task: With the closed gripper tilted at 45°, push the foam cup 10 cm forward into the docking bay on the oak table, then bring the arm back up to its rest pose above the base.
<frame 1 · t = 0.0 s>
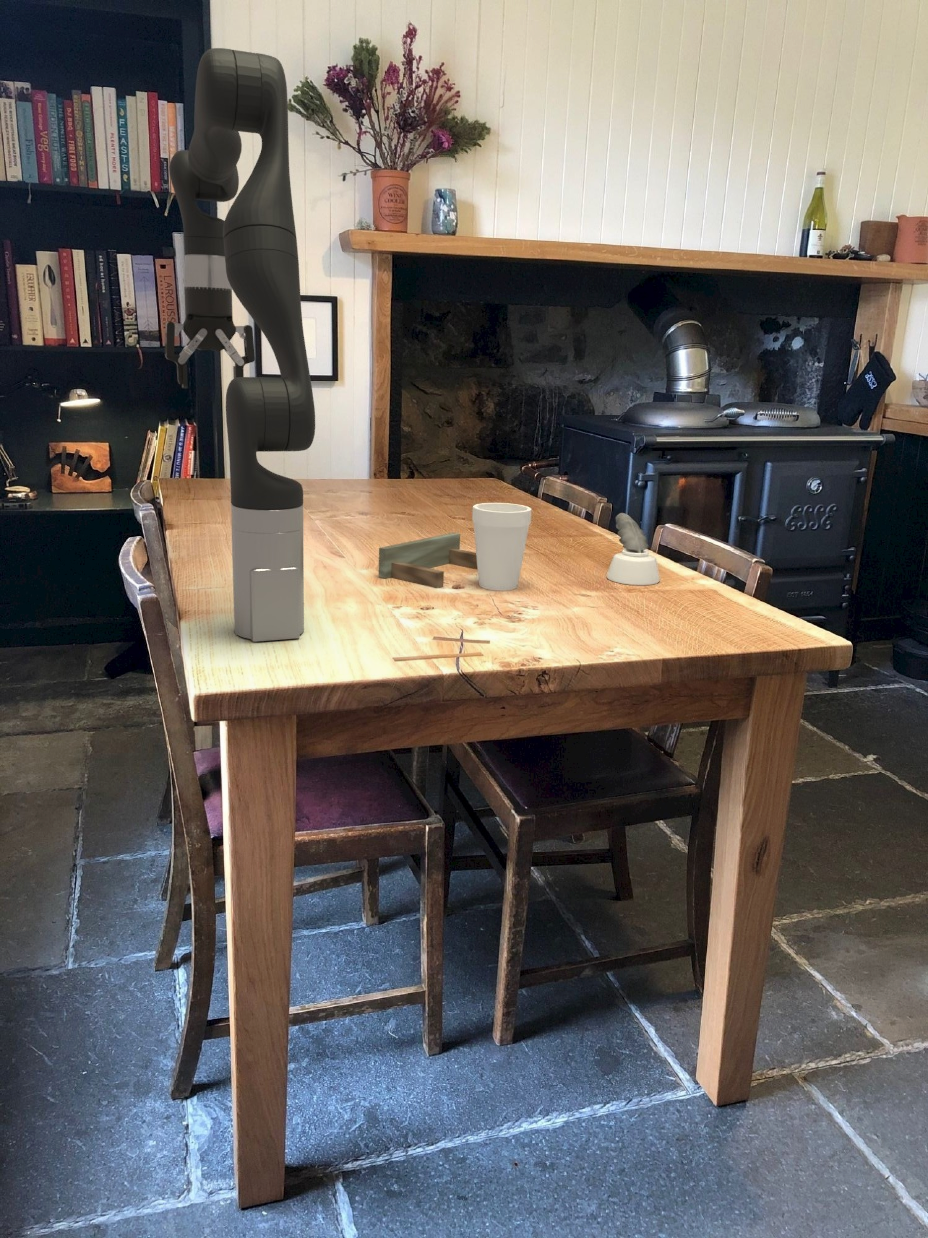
hand: (211, 388, 164), 29 cm above the table, tool pointing down, fingers open, 8 cm apart
inkwell: (624, 574, 174), on the table
foam cup: (498, 586, 162), on the table
dock: (450, 575, 167), on the table
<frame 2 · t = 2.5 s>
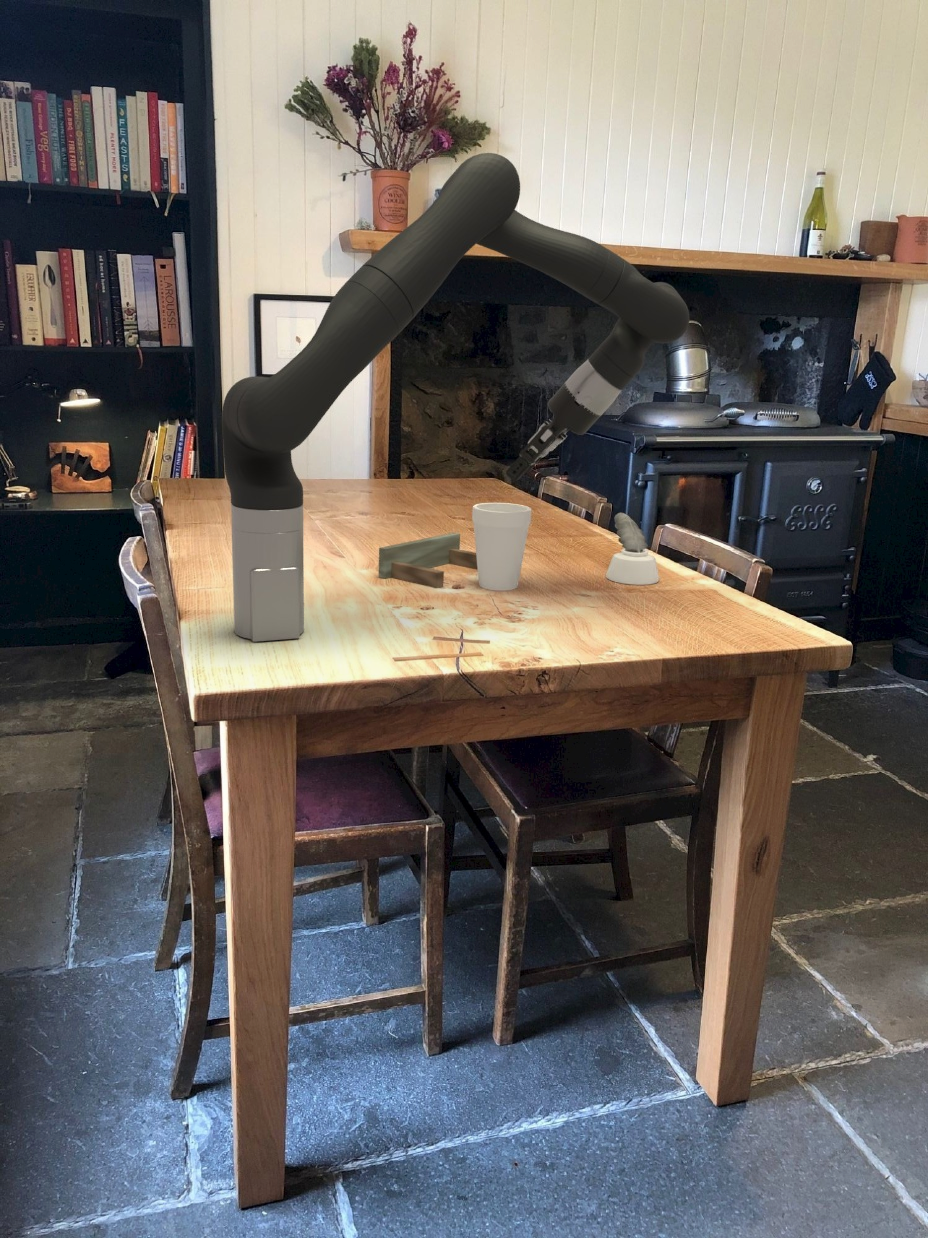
hand: (517, 472, 158), 19 cm above the table, tool tilted 40°, fingers open, 8 cm apart
nothing on the table moved.
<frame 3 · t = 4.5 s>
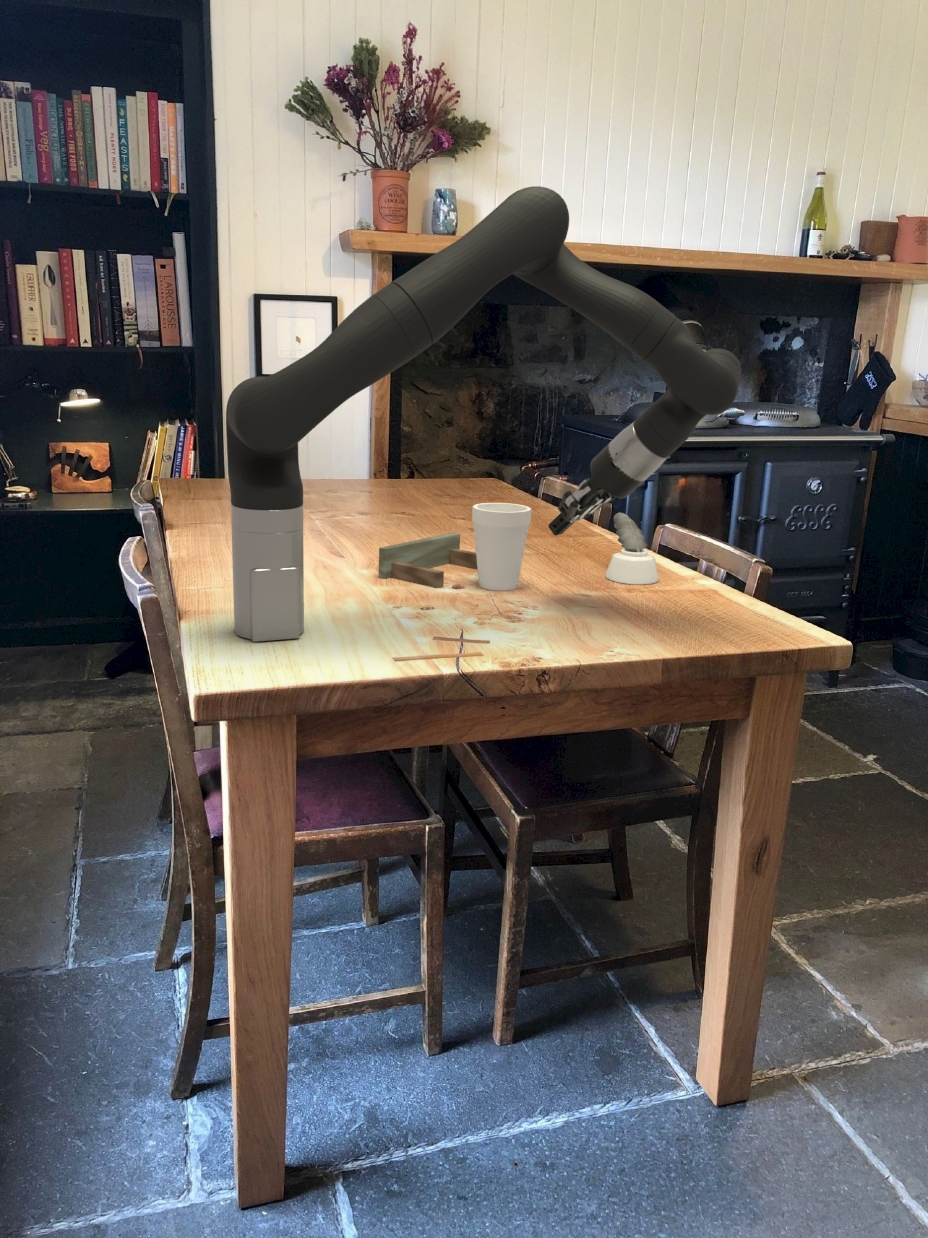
hand: (553, 530, 153), 11 cm above the table, tool tilted 45°, fingers closed
nothing on the table moved.
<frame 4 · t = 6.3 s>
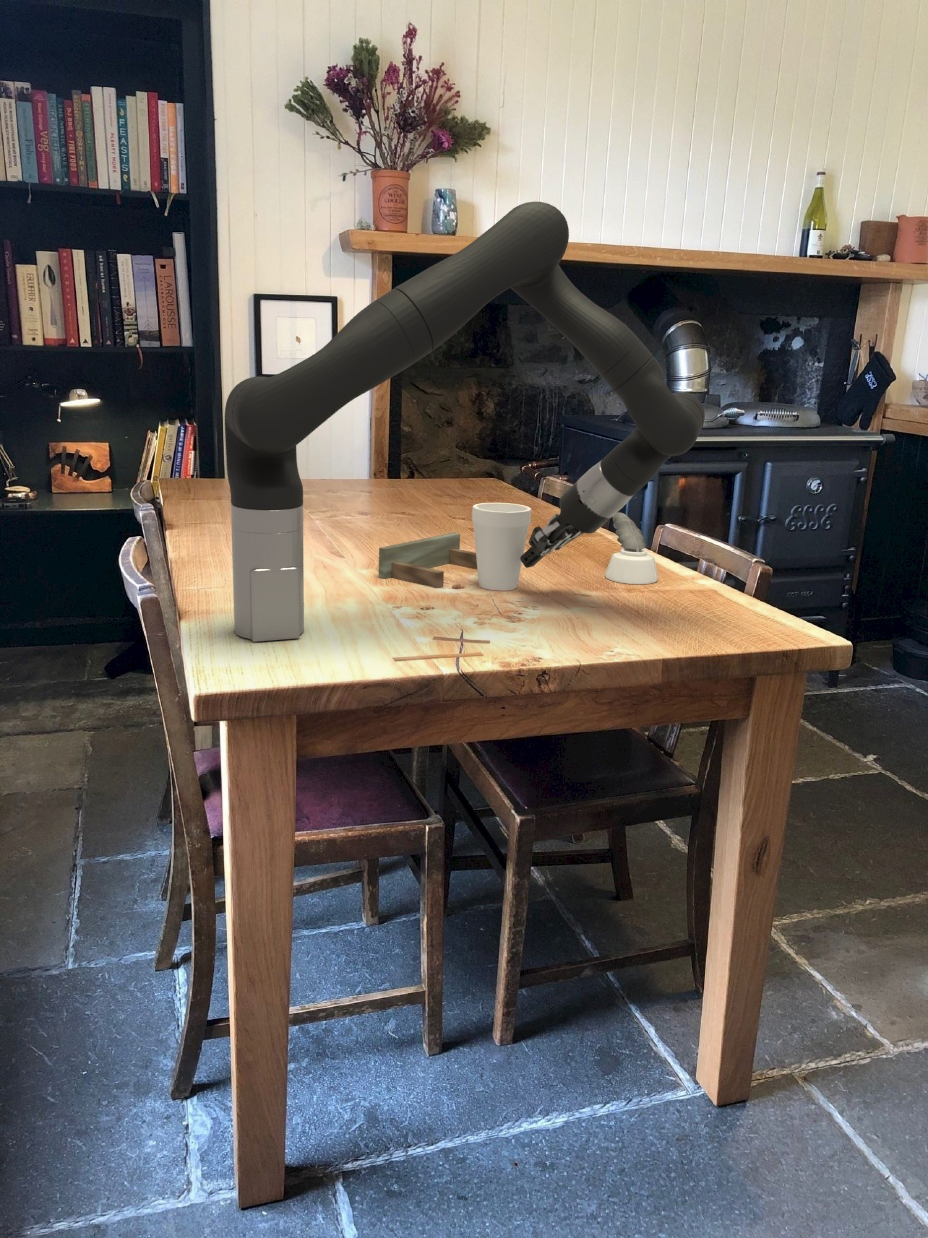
hand: (525, 562, 157), 5 cm above the table, tool tilted 45°, fingers closed
foam cup: (498, 586, 162), on the table, touching gripper
everything else where it was.
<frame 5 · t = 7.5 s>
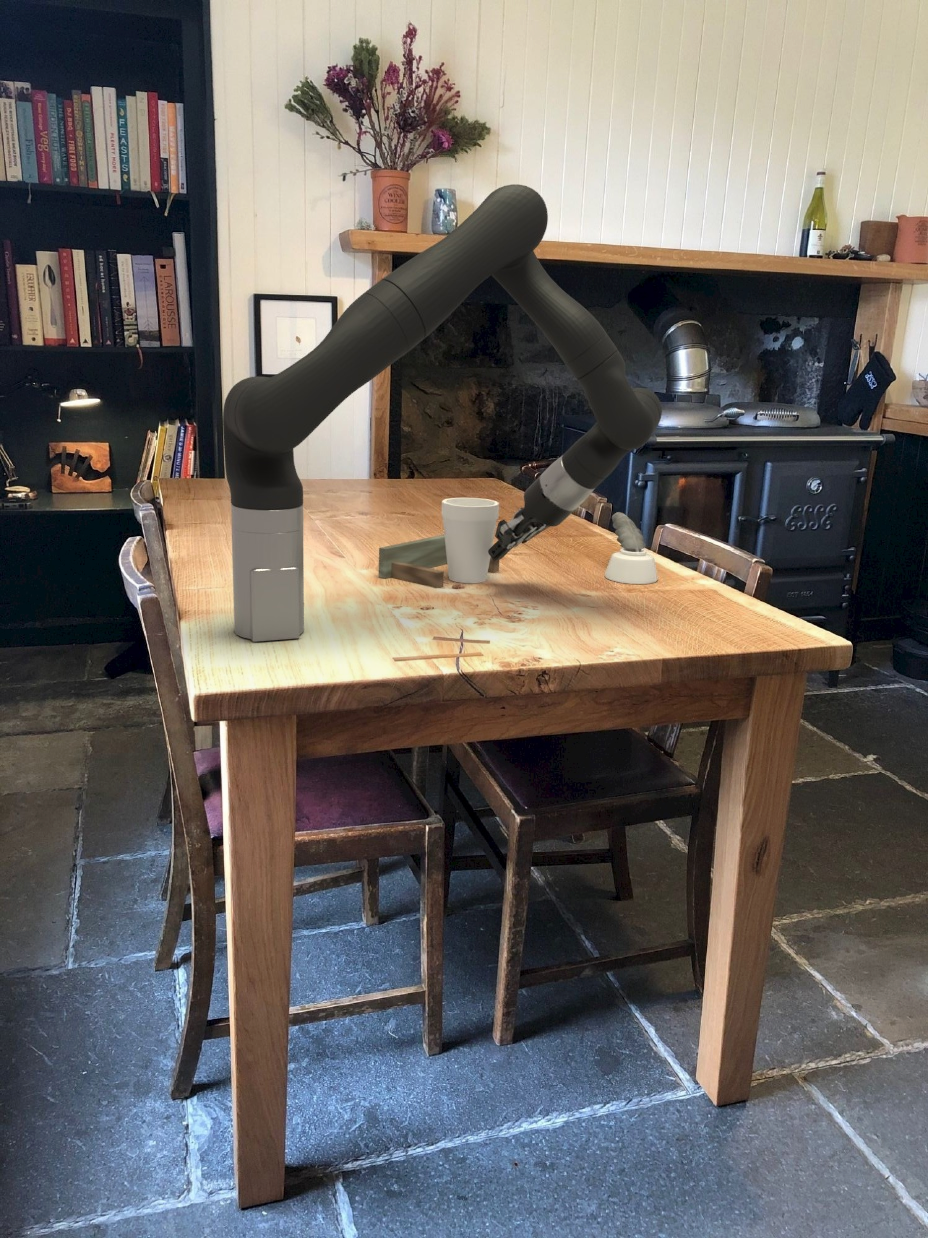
hand: (493, 555, 161), 5 cm above the table, tool tilted 45°, fingers closed
foam cup: (467, 579, 165), on the table, touching gripper
everything else where it was.
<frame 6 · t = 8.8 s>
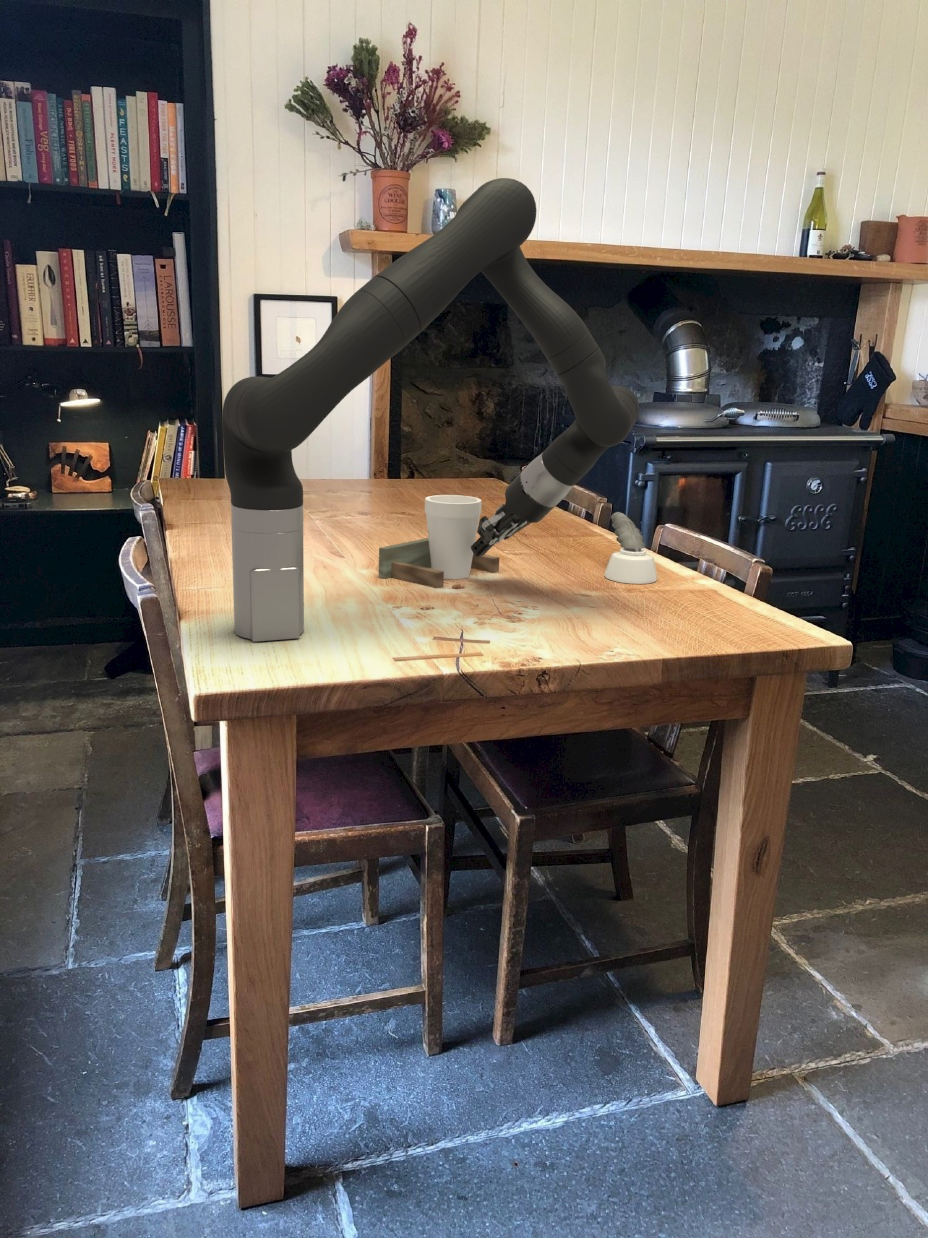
hand: (475, 551, 163), 5 cm above the table, tool tilted 45°, fingers closed
foam cup: (450, 576, 168), on the table, touching gripper
everything else where it was.
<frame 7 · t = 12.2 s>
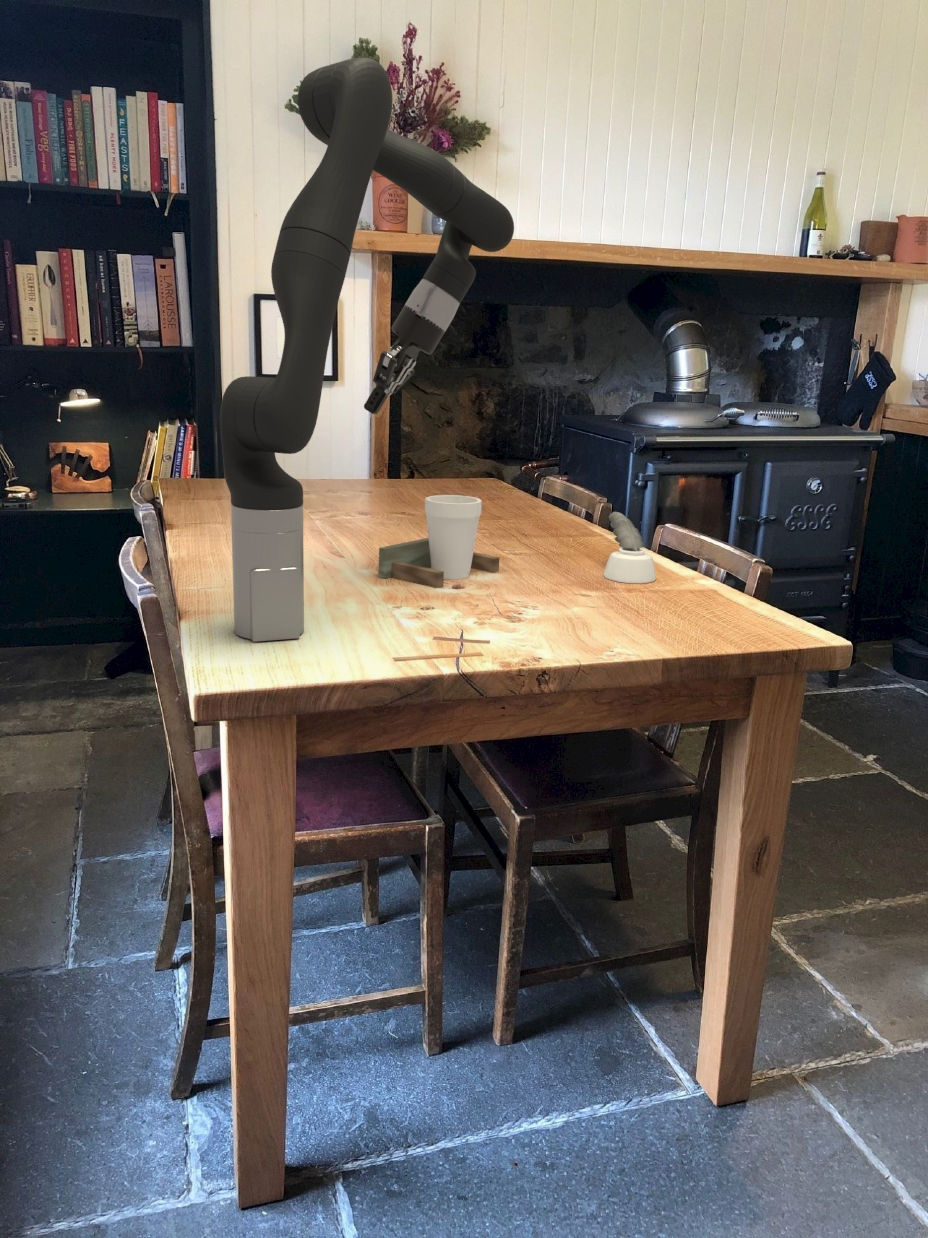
hand: (369, 411, 158), 27 cm above the table, tool tilted 30°, fingers closed
foam cup: (450, 576, 168), on the table
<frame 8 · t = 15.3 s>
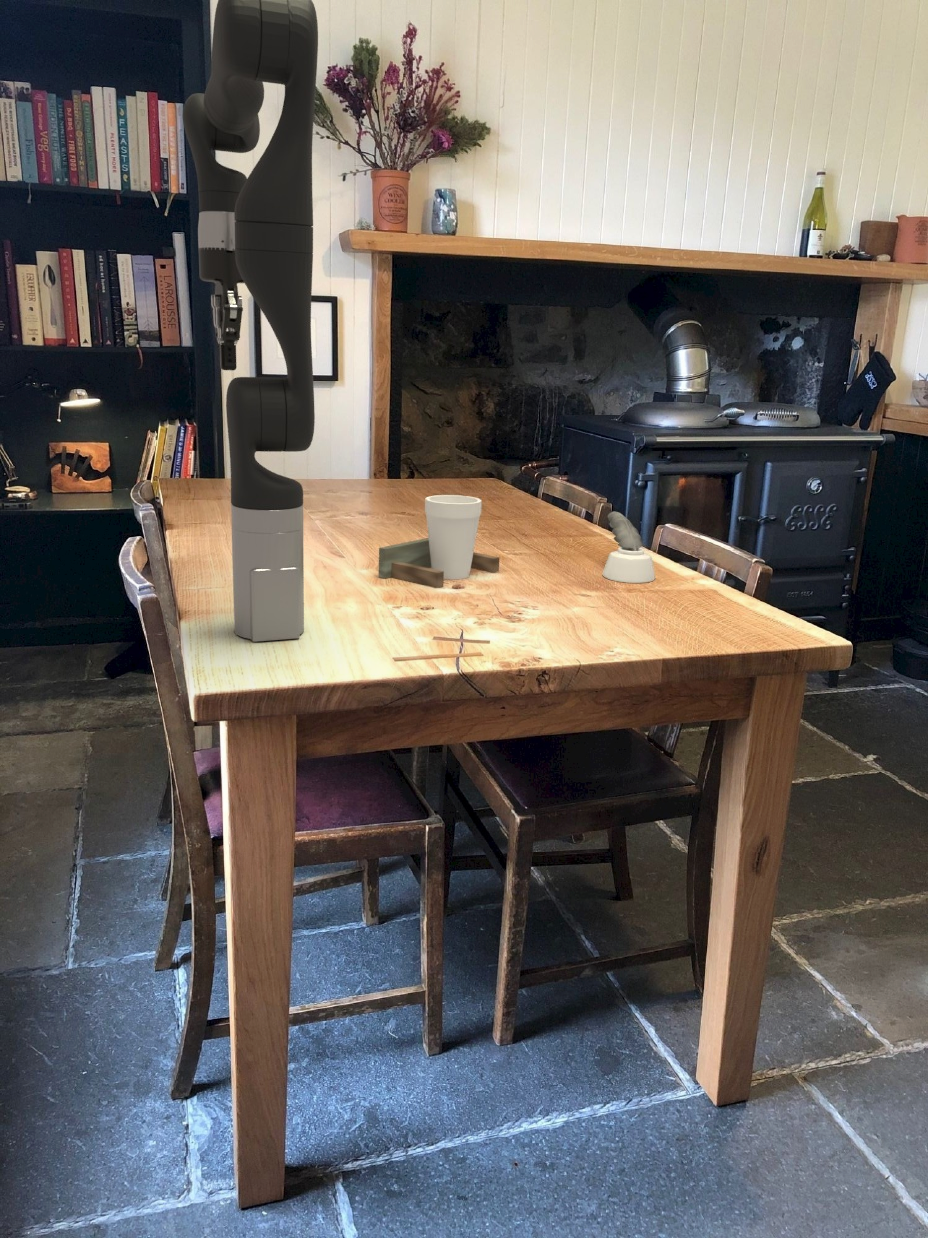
hand: (228, 369, 148), 33 cm above the table, tool pointing down, fingers closed
at the end: foam cup 0.3 cm from the dock (horizontally); foam cup tilted 0°; foam cup moved 10.2 cm from its start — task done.
